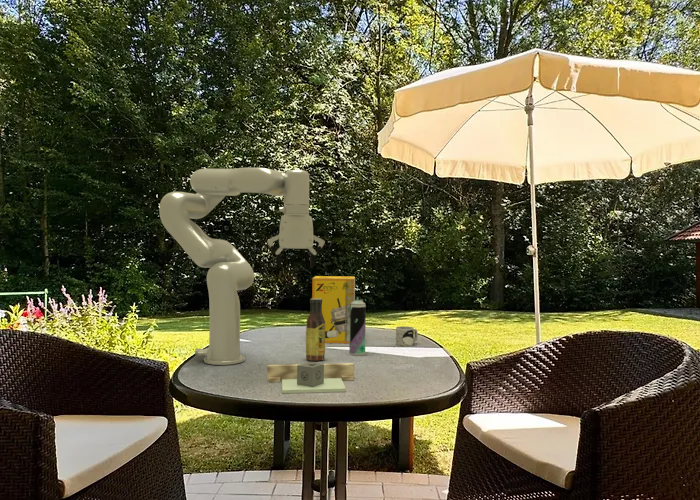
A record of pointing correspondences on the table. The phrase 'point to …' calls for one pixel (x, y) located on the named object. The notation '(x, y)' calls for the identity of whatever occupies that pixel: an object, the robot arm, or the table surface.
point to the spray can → (357, 327)
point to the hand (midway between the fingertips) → (295, 268)
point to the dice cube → (310, 374)
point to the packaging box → (335, 305)
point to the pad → (327, 386)
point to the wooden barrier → (290, 371)
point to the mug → (405, 336)
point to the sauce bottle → (315, 332)
